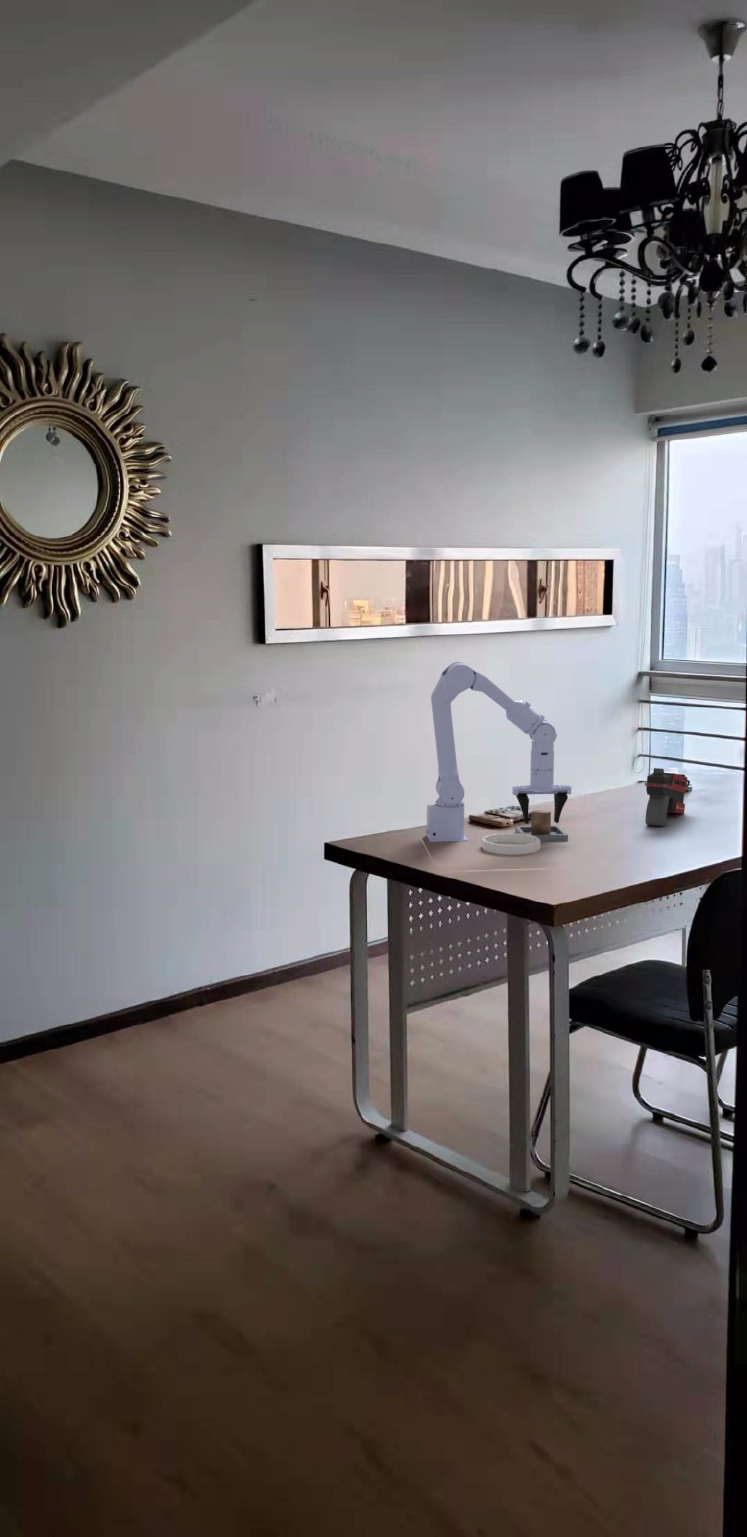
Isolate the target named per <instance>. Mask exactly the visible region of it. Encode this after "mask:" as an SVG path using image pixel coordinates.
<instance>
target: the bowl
mask: <svg viewBox="0 0 747 1537" xmlns="http://www.w3.org/2000/svg"><path fill="white" fill-rule="evenodd" d="M481 849H482V850H483V851H485V852H488V853H491V854H498V855H507V856H508V855H511V856H513V855H527V854H533V853H537V852H538V851H540V850H541V841H540V839H539V838H538V837H536V836H532V835H528V834H518V833H516V832H509V833H508V832H505V833H503V832H502V833H494V834H492V833H491V834H487V835H485V836H484V837H482V838H481Z"/></svg>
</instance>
